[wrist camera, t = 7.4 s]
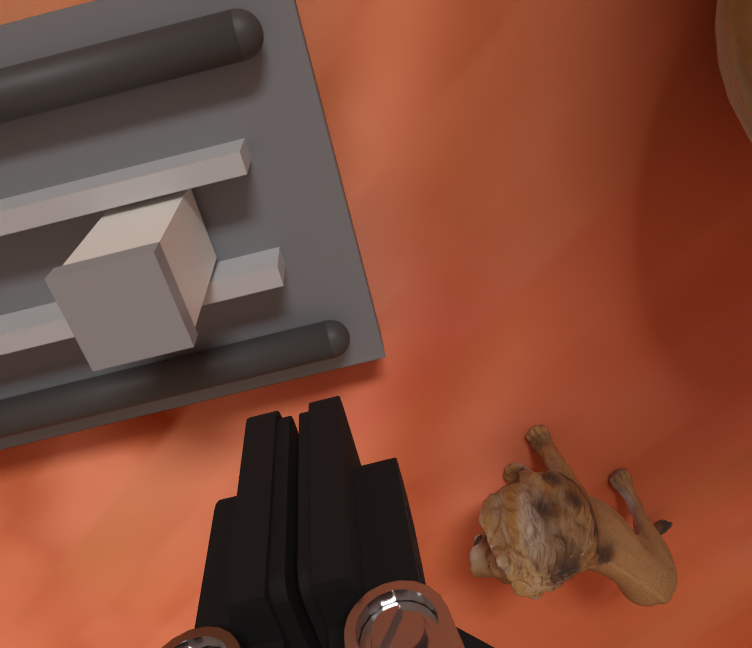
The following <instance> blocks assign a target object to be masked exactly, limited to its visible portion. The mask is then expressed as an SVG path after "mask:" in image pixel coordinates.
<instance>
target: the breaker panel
mask: <svg viewBox="0 0 752 648" xmlns="http://www.w3.org/2000/svg"><path fill="white" fill-rule="evenodd" d="M190 188H191V191H192V193H193V196H194V199H195V201H196V204H197V206H198V209H199V212H200V214H201V217H202V220H203V222H204V225H205V228H206V230H207V233H208V236H209V238H210V241H211V244H212V246H213V249H214V252H215V254H216V257H217V258H216V261H215V265H214V268H213V271H212V274H211V278H210V281H209V284H208V287H207V291H206V294H205V297H204V300H203V303H202V307H201V310H200V313H199V316H198V320H197V323H196V326H195V328H196V331H197V333H198V335H197V338H196V342H195V345H194V347H192V348H188V349H183V350H179V351H175V352H171V353H167V354H163V355H159V356H155V357H151V358H146V359H142V360H138V361H134V362H130V363H126V364H122V365H118V366H114V367H109V368H105V369H101V370H97V371H92V369H91V367H90V365H89V363H88V361H87V359H86V357H85V356H84V354H83V352H82V350H81V348H80V346H79V344H78V342H77V340H76V338H75V337H74V335H73V333H72V331H71V329H70V327H69V325H68V323H67V321H66V319H65V318H64V316H63V314H62V312H61V310H60V308H59V306H58V304H57V302H56V300H55V299H54V297H53V295H52V293H51V291H50V289H49V287H48V285H47V283H46V281H45V280H44V279H45V278H46V277H47V275H48V274H49V273H50V272H51V271H52V269H53V268H55V267H59V266H62V265H63V264H64V263H65V262H66V260H67V259H68V258H69V257H70V256H71V254H72V253H73V252H74V251H75V249H76V248H77V247H78V246H79V244H80V243H81V242H82V241H83V240H84V238H85V237H86V236H87V235H88V233H89V232H90V231H91V230H92V229H93V227H94V226H95V225H96V224H97V222H98V221H99V220H100V219H101V217H102V216H103V215H104V214H105V213H106V211H107V210H108V209H110V208H114V207H118V206H122V205H126V204H130V203H134V202H138V201H142V200H146V199H150V198H154V197H158V196H162V195H166V194H170V193H174V192H178V191H182V190H186V189H190ZM384 357H385V352H384V347H383V342H382V337H381V332H380V328H379V325H378V321H377V317H376V313H375V309H374V305H373V301H372V297H371V293H370V289H369V286H368V282H367V278H366V274H365V270H364V266H363V262H362V258H361V254H360V250H359V247H358V243H357V239H356V235H355V231H354V227H353V223H352V219H351V215H350V211H349V208H348V204H347V200H346V196H345V192H344V188H343V184H342V180H341V176H340V172H339V169H338V165H337V161H336V157H335V153H334V149H333V145H332V141H331V137H330V133H329V130H328V126H327V122H326V118H325V114H324V110H323V106H322V102H321V98H320V94H319V91H318V87H317V83H316V79H315V75H314V71H313V67H312V63H311V59H310V55H309V52H308V48H307V44H306V40H305V36H304V32H303V28H302V24H301V20H300V16H299V13H298V9H297V5H296V1H295V0H96V1H92V2H88V3H84V4H80V5H76V6H73V7H69V8H65V9H61V10H57V11H53V12H49V13H46V14H42V15H38V16H34V17H30V18H26V19H22V20H19V21H15V22H11V23H7V24H3V25H0V450H2V449H6V448H10V447H14V446H19V445H23V444H27V443H31V442H35V441H39V440H44V439H48V438H52V437H56V436H60V435H64V434H68V433H73V432H77V431H81V430H85V429H89V428H93V427H98V426H102V425H106V424H110V423H114V422H118V421H123V420H127V419H131V418H135V417H139V416H143V415H147V414H152V413H156V412H160V411H164V410H168V409H172V408H177V407H181V406H185V405H189V404H193V403H197V402H201V401H206V400H210V399H214V398H218V397H222V396H226V395H231V394H235V393H239V392H243V391H247V390H251V389H255V388H260V387H264V386H268V385H272V384H276V383H280V382H285V381H289V380H293V379H297V378H301V377H305V376H309V375H314V374H318V373H322V372H326V371H330V370H334V369H339V368H343V367H347V366H351V365H355V364H359V363H363V362H368V361H372V360H376V359H380V358H384Z"/></svg>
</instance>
